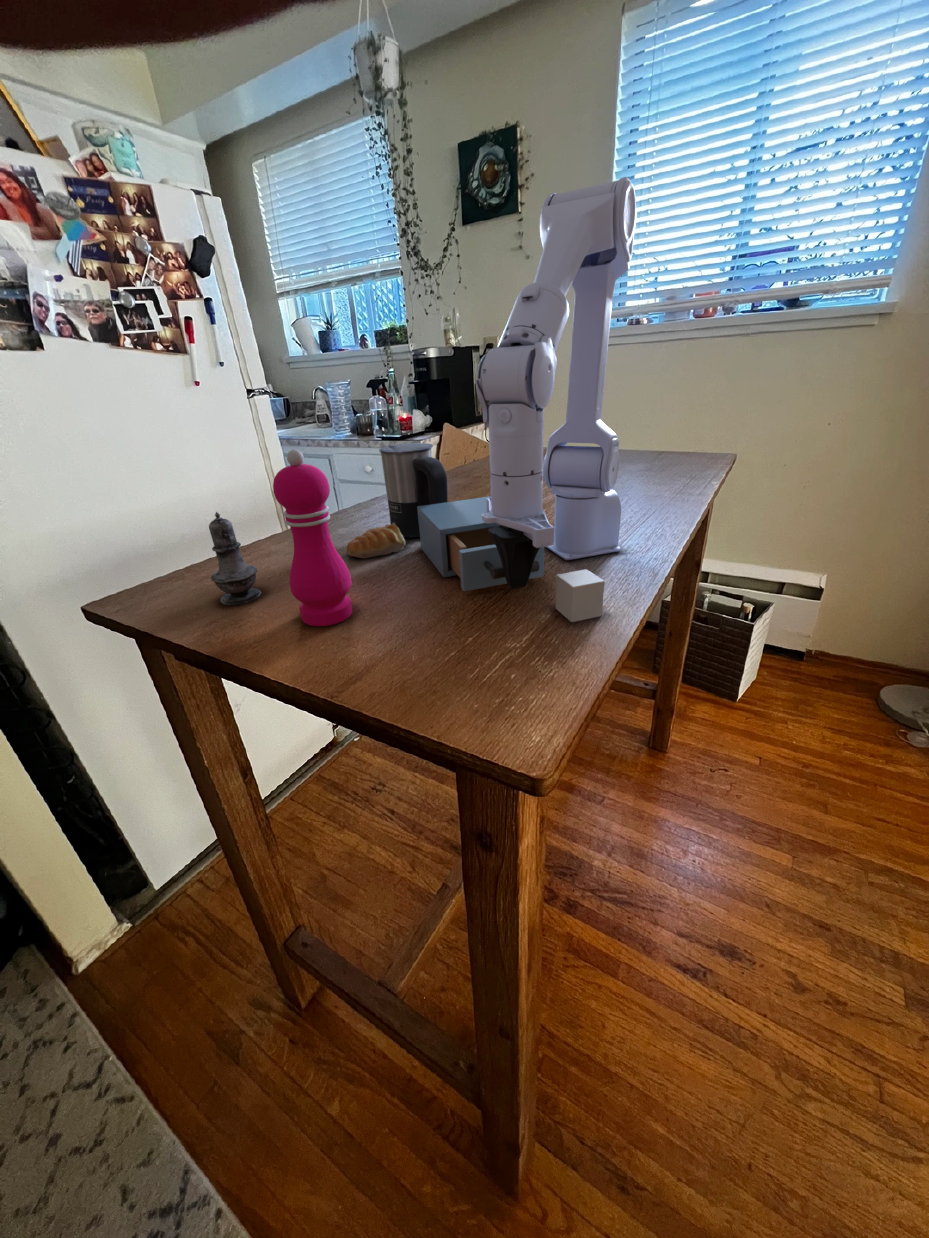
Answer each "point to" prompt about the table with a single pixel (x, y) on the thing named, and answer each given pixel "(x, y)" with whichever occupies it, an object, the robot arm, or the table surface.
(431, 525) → the cabinet
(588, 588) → the block
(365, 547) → the pastry
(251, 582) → the salt shaker
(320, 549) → the pepper mill
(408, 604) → the table surface
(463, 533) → the drawer
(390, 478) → the milk frother
